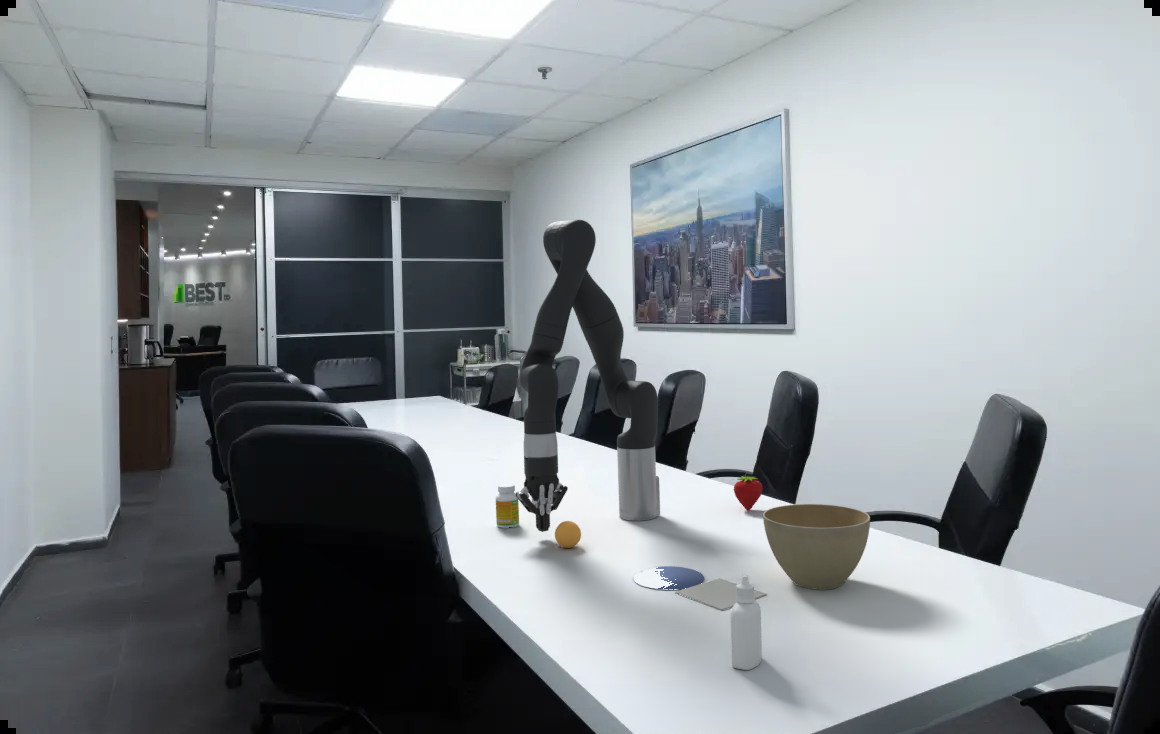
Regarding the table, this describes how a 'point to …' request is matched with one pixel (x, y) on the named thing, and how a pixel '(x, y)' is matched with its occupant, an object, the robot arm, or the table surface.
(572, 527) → the ball
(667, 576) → the disc
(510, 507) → the supplement bottle
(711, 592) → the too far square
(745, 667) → the eye dropper bottle
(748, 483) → the strawberry
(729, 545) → the table surface
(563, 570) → the table surface
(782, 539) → the beige bowl
